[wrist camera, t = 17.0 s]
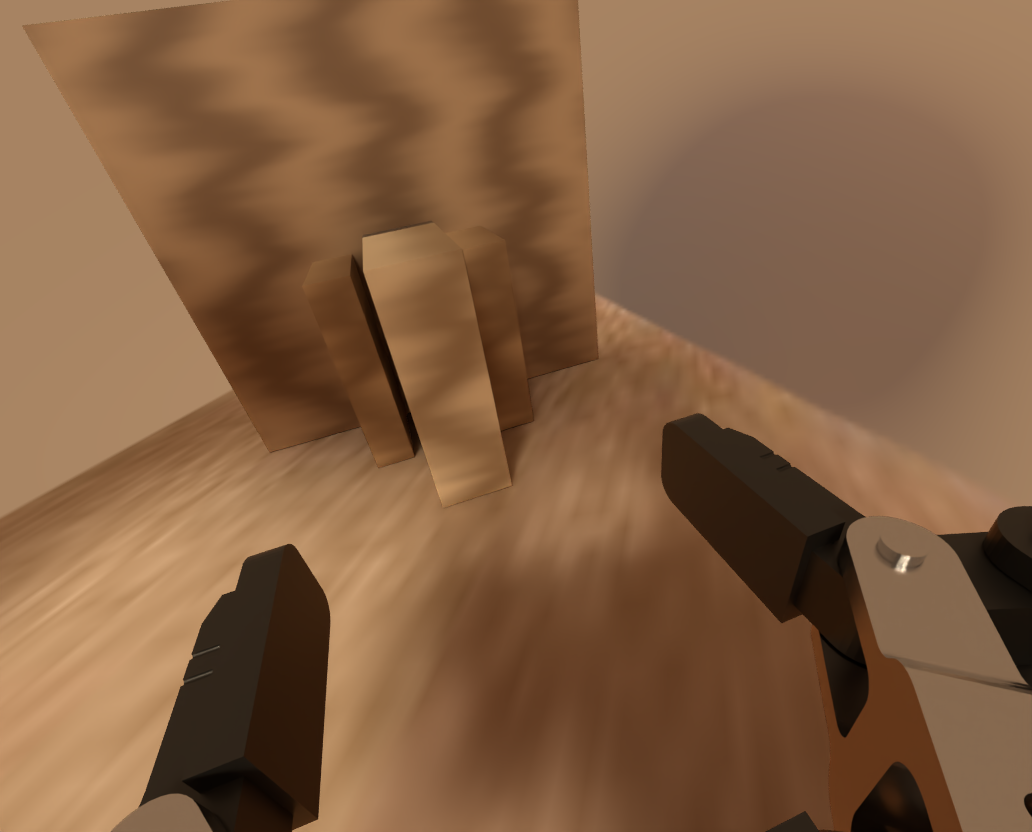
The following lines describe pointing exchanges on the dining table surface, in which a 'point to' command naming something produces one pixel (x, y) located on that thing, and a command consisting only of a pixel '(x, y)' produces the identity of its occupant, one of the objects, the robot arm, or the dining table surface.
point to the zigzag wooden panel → (346, 184)
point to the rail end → (438, 356)
